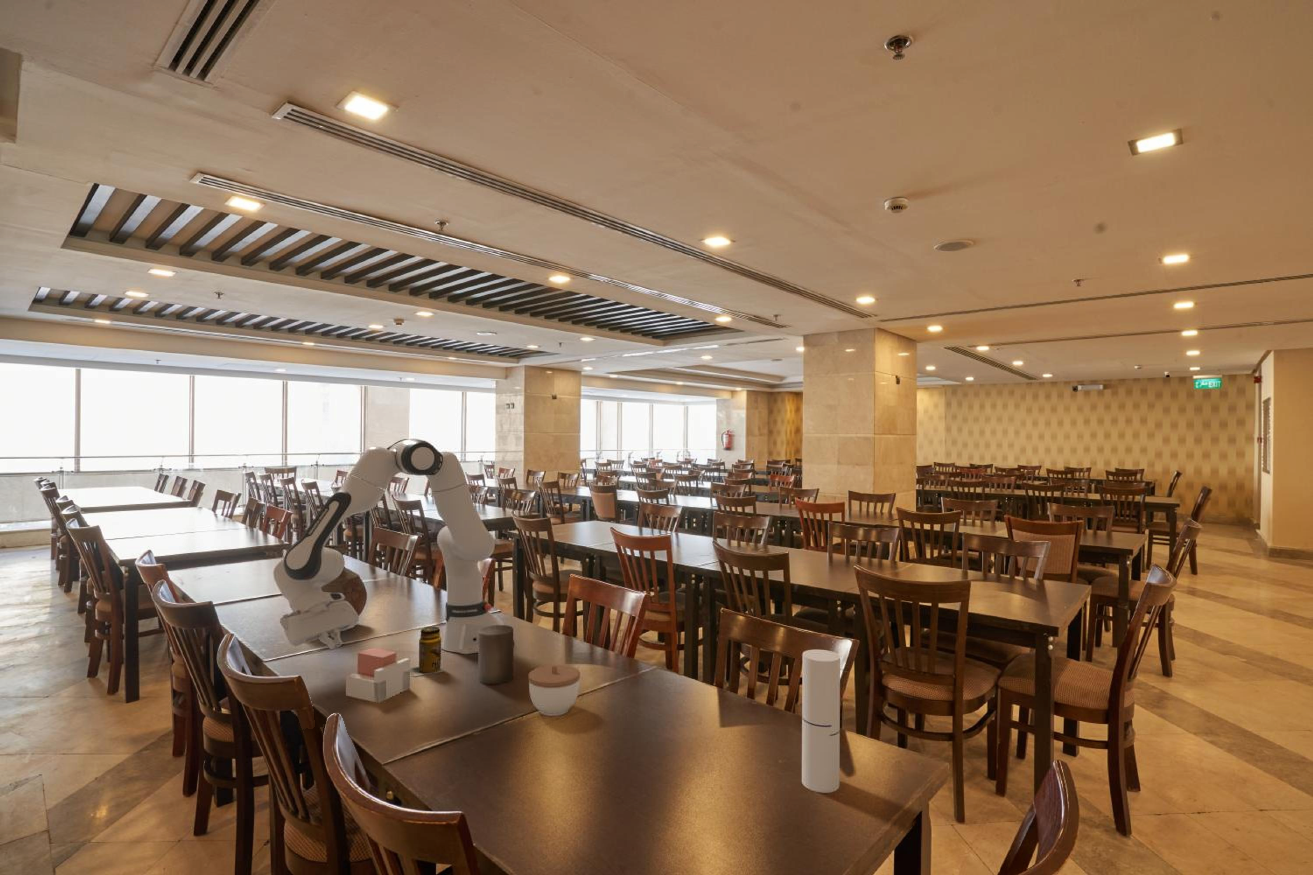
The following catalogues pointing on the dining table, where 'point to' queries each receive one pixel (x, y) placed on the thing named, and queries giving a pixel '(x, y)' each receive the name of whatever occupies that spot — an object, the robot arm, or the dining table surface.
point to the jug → (348, 585)
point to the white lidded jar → (554, 688)
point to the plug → (374, 660)
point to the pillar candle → (495, 654)
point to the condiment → (429, 652)
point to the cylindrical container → (820, 720)
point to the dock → (380, 682)
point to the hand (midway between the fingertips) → (336, 646)
